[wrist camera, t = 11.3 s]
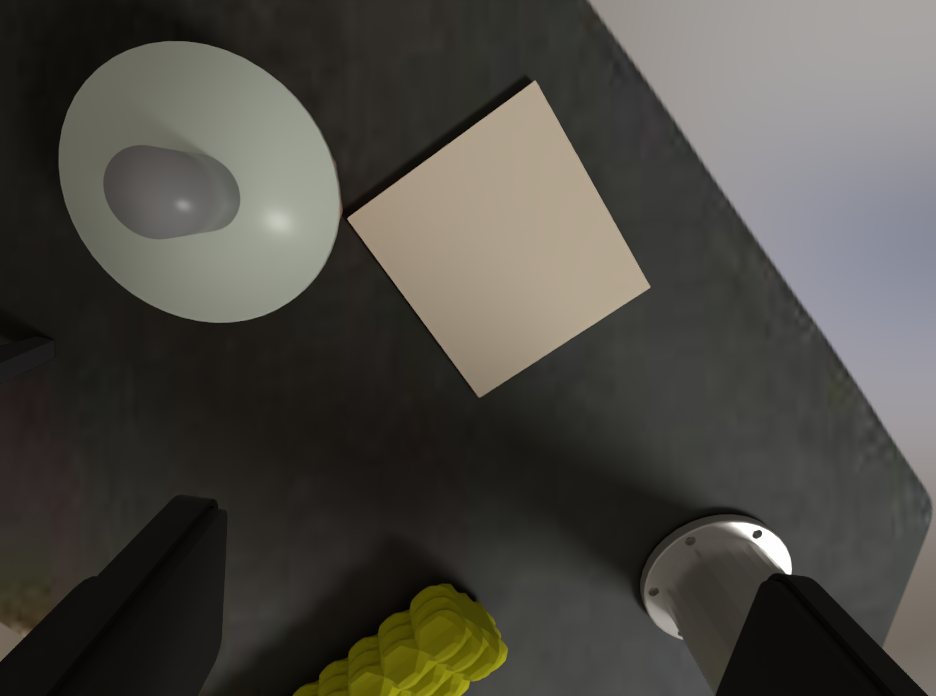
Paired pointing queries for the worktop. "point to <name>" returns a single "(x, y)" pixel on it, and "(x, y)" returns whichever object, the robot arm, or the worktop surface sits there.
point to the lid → (199, 181)
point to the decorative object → (419, 651)
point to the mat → (502, 243)
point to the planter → (24, 356)
